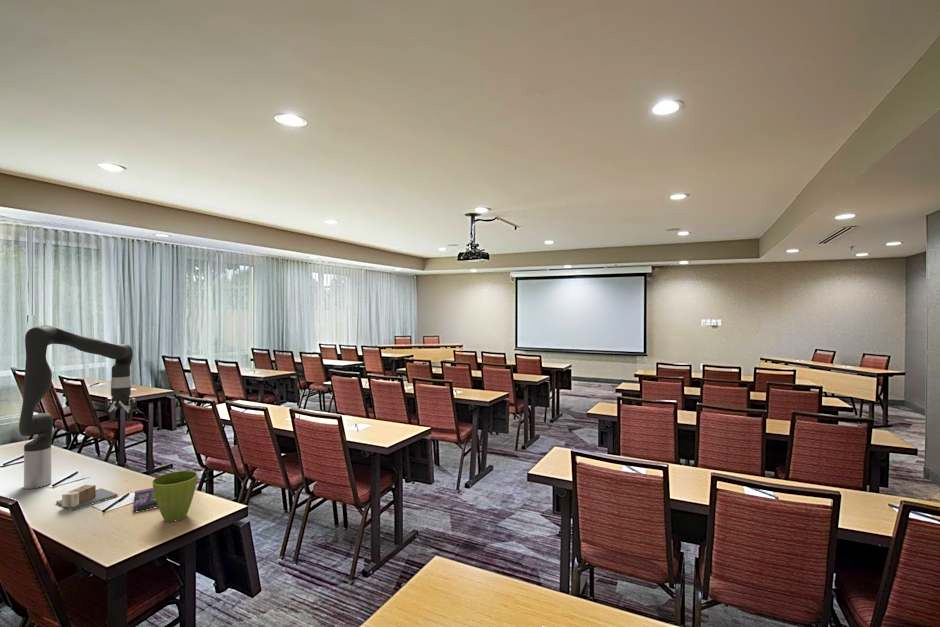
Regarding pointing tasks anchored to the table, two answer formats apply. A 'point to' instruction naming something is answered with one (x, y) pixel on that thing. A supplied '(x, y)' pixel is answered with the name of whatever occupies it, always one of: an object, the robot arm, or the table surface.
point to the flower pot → (174, 493)
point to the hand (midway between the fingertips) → (120, 419)
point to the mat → (100, 495)
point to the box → (144, 500)
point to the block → (78, 495)
